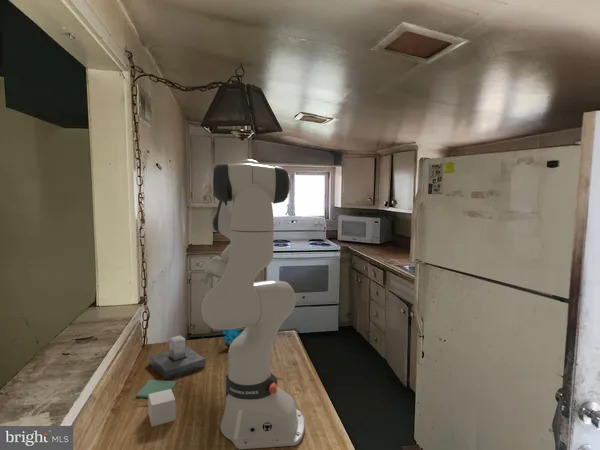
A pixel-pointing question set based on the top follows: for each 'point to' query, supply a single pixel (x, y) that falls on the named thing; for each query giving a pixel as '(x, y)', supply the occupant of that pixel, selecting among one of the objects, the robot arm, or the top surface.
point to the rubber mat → (155, 387)
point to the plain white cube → (161, 407)
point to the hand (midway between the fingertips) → (209, 286)
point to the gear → (230, 335)
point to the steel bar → (177, 348)
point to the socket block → (176, 363)
